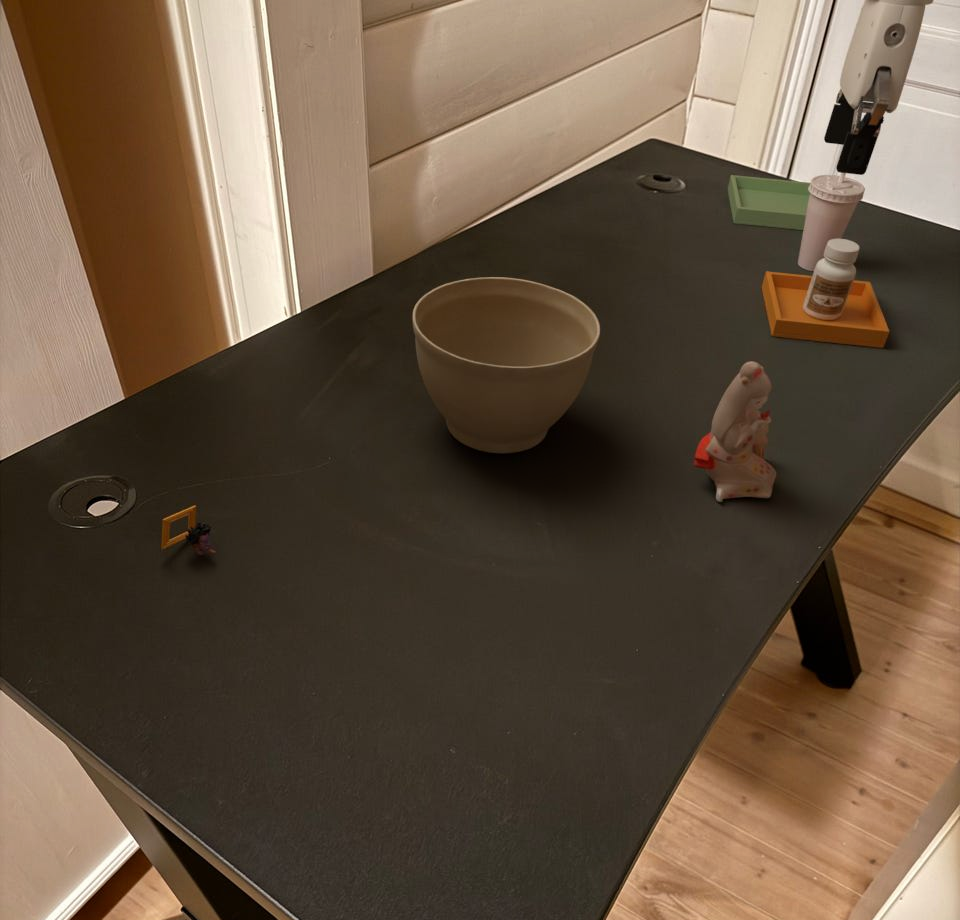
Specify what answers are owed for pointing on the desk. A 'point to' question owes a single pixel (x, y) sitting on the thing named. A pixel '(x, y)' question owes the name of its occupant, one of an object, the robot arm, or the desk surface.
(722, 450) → the figurine
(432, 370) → the planter bowl
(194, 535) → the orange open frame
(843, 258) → the pill bottle
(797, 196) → the sage tray
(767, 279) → the amber tray
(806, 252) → the smoothie
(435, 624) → the desk surface
